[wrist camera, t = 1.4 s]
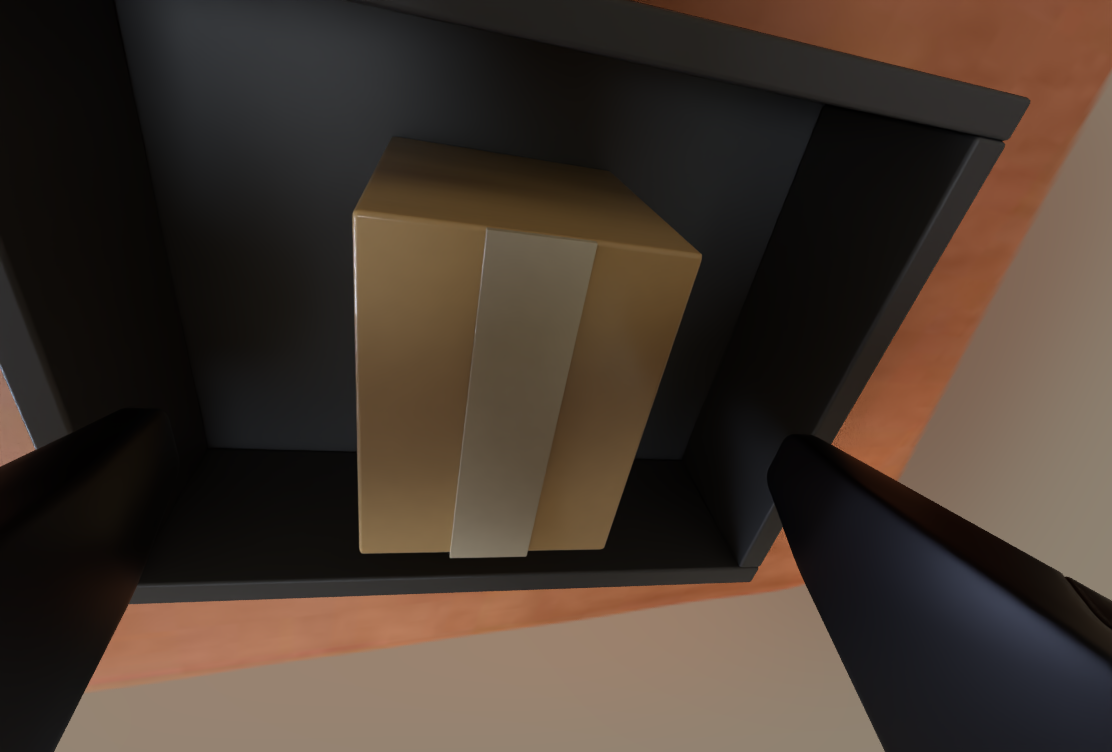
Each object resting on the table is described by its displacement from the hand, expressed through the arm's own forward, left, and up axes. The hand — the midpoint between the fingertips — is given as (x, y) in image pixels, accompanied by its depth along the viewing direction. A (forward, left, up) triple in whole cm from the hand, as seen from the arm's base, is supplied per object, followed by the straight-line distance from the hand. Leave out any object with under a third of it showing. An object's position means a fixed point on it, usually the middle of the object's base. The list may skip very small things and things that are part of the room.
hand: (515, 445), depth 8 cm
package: (0, 0, -5) cm, 5 cm away
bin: (0, 0, -6) cm, 6 cm away
